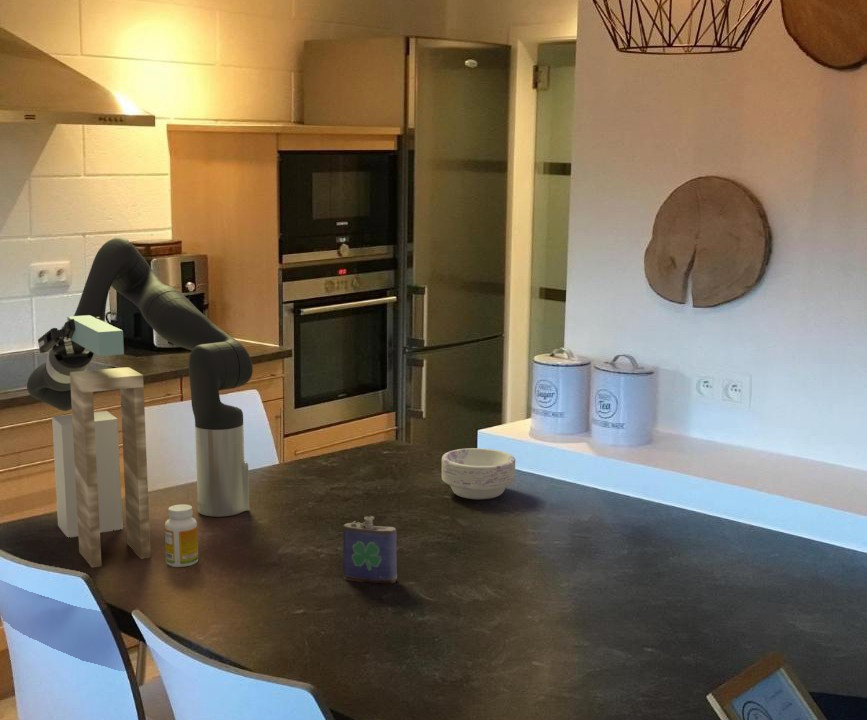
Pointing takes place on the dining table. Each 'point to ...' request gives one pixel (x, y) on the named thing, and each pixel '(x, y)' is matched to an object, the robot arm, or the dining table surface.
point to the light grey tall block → (105, 473)
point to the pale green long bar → (97, 336)
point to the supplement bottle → (181, 537)
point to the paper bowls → (478, 472)
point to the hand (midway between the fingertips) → (86, 322)
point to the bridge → (132, 456)
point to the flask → (369, 552)
